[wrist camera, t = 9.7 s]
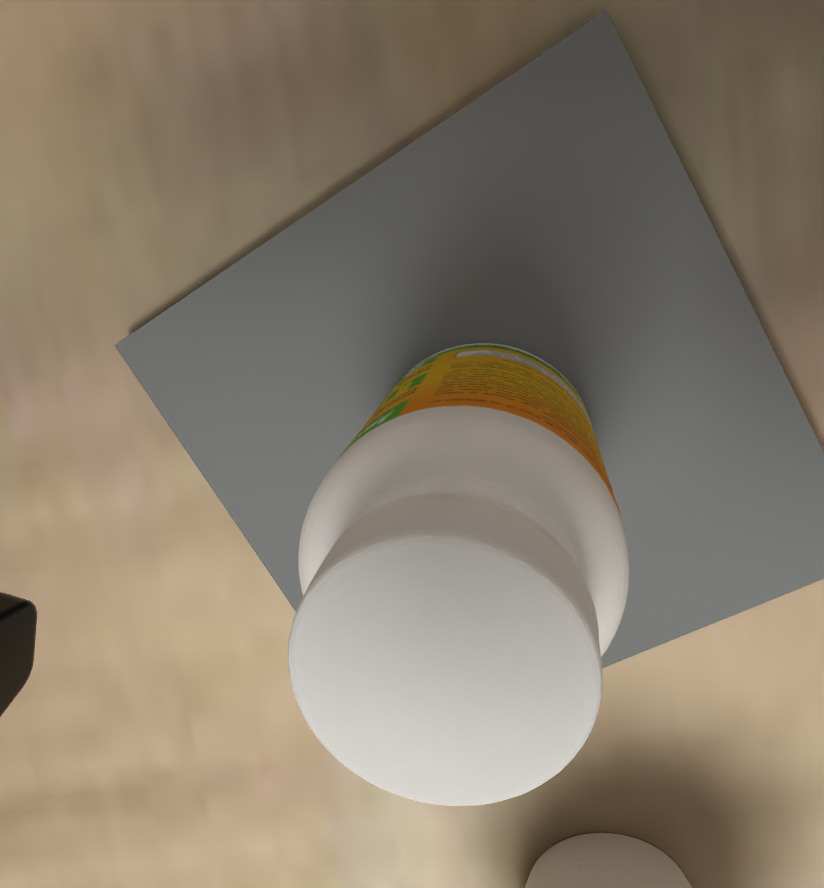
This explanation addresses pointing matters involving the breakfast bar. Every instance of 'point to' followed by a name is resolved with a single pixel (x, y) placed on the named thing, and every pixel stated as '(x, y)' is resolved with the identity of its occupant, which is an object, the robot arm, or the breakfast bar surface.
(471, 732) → the supplement bottle
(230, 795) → the breakfast bar surface
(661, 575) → the slate mat
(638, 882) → the cup
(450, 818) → the breakfast bar surface
